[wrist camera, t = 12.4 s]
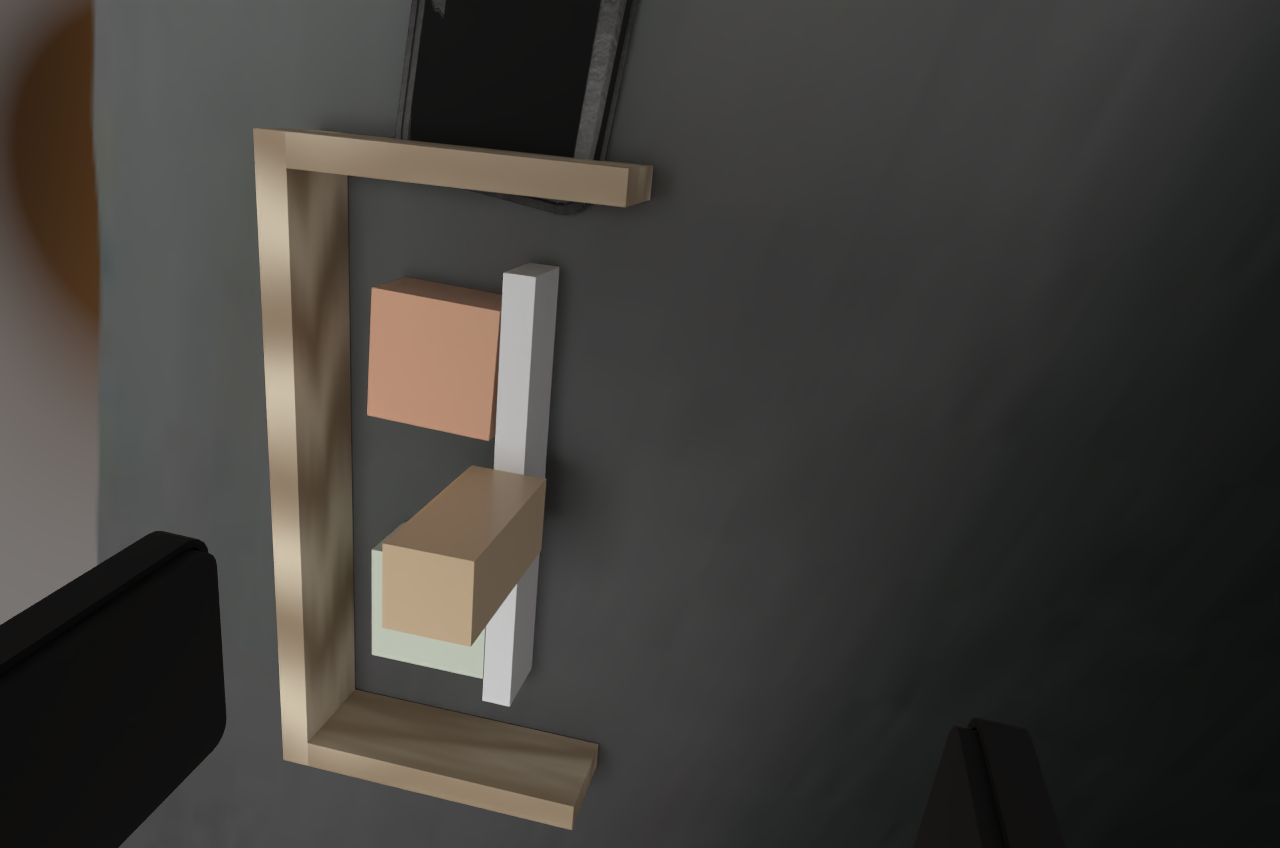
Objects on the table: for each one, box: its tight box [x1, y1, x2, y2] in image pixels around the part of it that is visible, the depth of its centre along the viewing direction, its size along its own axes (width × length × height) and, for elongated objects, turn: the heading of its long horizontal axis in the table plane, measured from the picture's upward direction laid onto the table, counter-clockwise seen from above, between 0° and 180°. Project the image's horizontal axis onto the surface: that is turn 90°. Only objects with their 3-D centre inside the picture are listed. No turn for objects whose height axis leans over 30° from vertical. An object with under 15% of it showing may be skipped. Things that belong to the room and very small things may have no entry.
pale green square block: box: [372, 522, 486, 679], centre depth 37 cm, size 5×5×3 cm
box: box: [253, 128, 653, 830], centre depth 35 cm, size 26×13×4 cm, turn 174°
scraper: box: [382, 263, 559, 707], centre depth 32 cm, size 18×3×10 cm, turn 174°
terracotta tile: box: [367, 277, 502, 441], centre depth 34 cm, size 5×5×3 cm
